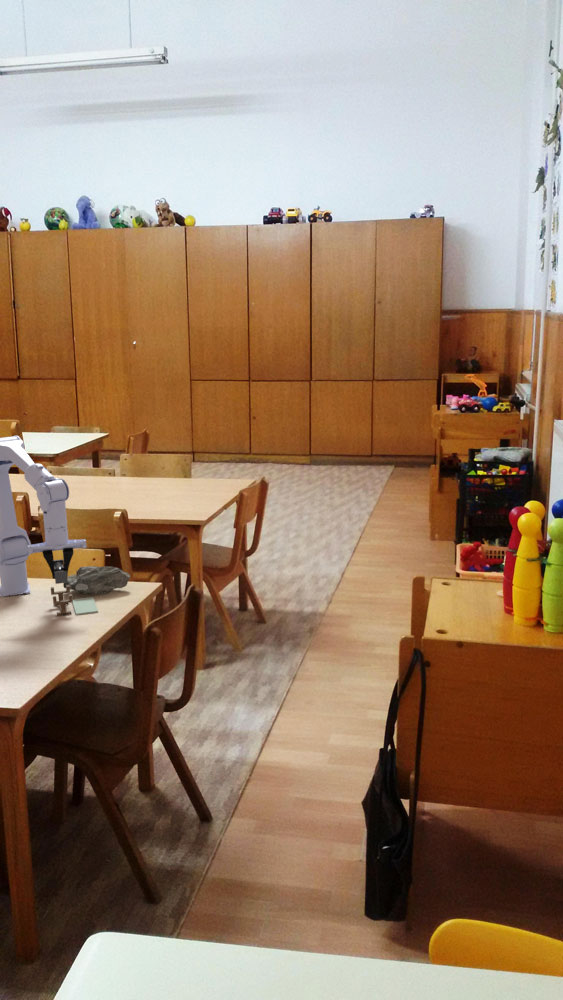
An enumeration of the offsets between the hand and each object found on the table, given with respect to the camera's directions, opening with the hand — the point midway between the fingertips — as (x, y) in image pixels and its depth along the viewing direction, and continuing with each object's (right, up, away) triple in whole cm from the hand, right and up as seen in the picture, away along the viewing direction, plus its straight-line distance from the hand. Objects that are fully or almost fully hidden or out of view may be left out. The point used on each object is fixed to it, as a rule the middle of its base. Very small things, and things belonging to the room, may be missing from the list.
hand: (59, 577), depth 211 cm
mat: (+6, -8, +4) cm, 11 cm away
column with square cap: (0, 0, 0) cm, 0 cm away
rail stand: (0, -9, +2) cm, 9 cm away
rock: (+6, -6, +17) cm, 19 cm away
